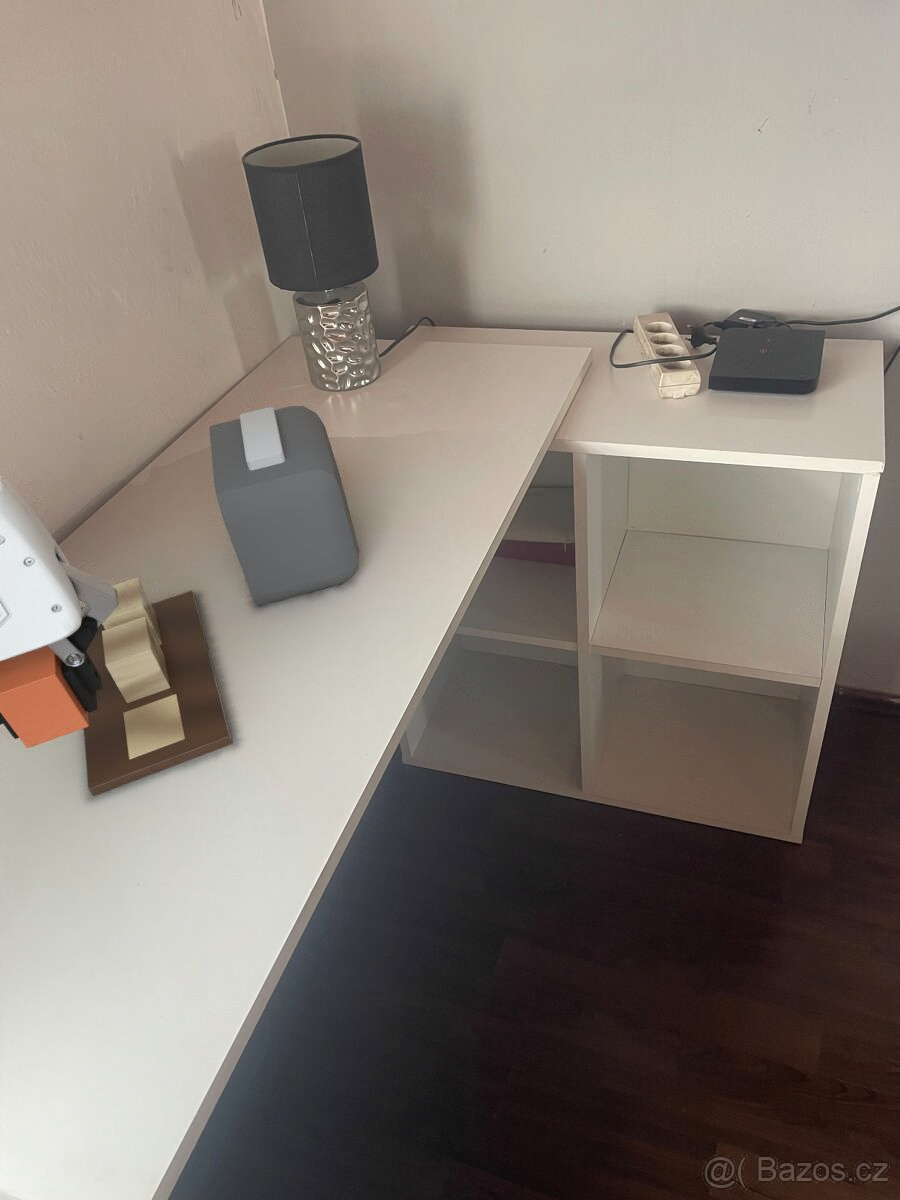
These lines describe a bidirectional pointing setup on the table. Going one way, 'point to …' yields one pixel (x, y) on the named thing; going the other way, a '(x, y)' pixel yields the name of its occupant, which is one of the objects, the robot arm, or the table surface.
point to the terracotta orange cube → (39, 698)
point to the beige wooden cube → (133, 607)
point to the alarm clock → (283, 502)
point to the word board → (157, 706)
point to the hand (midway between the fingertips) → (55, 708)
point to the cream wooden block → (135, 659)
